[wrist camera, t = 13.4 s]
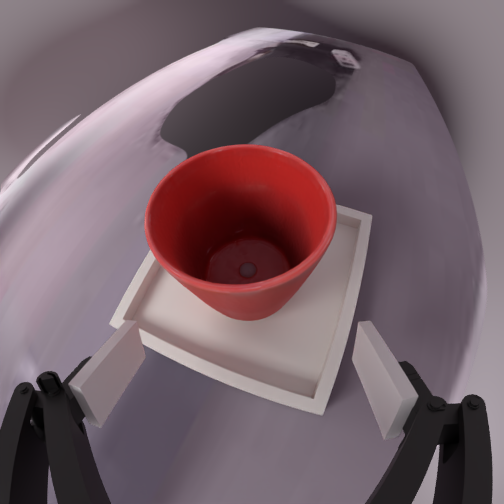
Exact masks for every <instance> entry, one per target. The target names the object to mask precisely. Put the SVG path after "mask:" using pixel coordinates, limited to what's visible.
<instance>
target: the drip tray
mask: <svg viewBox="0 0 504 504" xmlns="http://www.w3.org/2000/svg"><path fill="white" fill-rule="evenodd" d="M336 207H337V224H336V230H335V233H334V236H333V239H332V241H331V243H330V245H329V247H328V249H327V251H326V252H325V254H324V256H323V257H322V259H321V260H320V262H319V263H318V265H317V266H316V267H315V269H314V270H313V272H312V273H311V274H310V276H309V277H308V278H307V280H306V281H305V282H304V283H303V285H302V286H301V287H300V289H299V290H298V291H297V292H296V293H295V294H294V295H293V297H292V298H291V299H290V300H289V301H288V302H287V303H286V304H285V305H284V306H283V307H282V308H281V309H280V310H278V311H277V312H276V313H274V314H272V315H271V316H268V317H266V318H264V319H260V320H254V321H242V320H236V319H232V318H230V317H227V316H225V315H223V314H222V313H220V312H218V311H216V310H215V309H213V308H212V307H210V306H209V305H207V304H206V303H204V302H203V301H202V300H201V299H199V298H198V297H197V296H195V295H194V294H193V293H192V292H190V291H189V290H188V289H187V288H185V287H184V286H183V285H182V284H181V283H179V282H178V281H177V280H176V279H175V278H174V277H173V276H171V275H170V274H169V273H168V272H167V271H166V270H165V269H164V268H163V267H162V266H161V265H160V264H159V262H158V261H157V260H156V258H155V257H154V255H153V253H152V251H151V249H150V251H149V253H148V254H147V256H146V258H145V259H144V261H143V263H142V265H141V266H140V268H139V270H138V271H137V273H136V275H135V277H134V278H133V280H132V282H131V284H130V286H129V287H128V289H127V291H126V293H125V295H124V297H123V298H122V300H121V302H120V304H119V306H118V308H117V310H116V312H115V314H114V316H113V317H112V319H111V321H110V323H109V324H110V325H111V326H113V327H114V328H116V329H118V328H119V327H120V326H121V325H122V324H123V323H124V322H125V321H126V320H132V321H137V324H138V328H139V332H140V336H141V340H142V344H144V345H146V346H147V347H149V348H151V349H153V350H155V351H157V352H159V353H161V354H163V355H165V356H167V357H169V358H171V359H173V360H175V361H177V362H179V363H181V364H183V365H185V366H187V367H189V368H191V369H193V370H196V371H198V372H200V373H202V374H205V375H207V376H209V377H211V378H214V379H216V380H218V381H221V382H223V383H226V384H228V385H231V386H233V387H236V388H238V389H241V390H244V391H246V392H249V393H252V394H254V395H257V396H260V397H263V398H266V399H269V400H271V401H274V402H278V403H281V404H284V405H287V406H290V407H293V408H297V409H300V410H304V411H307V412H311V413H315V414H318V415H322V416H323V413H324V410H325V408H326V405H327V402H328V399H329V397H330V394H331V391H332V388H333V385H334V382H335V379H336V376H337V373H338V370H339V366H340V363H341V360H342V357H343V353H344V350H345V346H346V343H347V339H348V335H349V332H350V328H351V324H352V320H353V316H354V312H355V308H356V304H357V299H358V295H359V290H360V285H361V281H362V276H363V270H364V265H365V260H366V254H367V248H368V242H369V236H370V229H371V222H372V215H370V214H367V213H363V212H360V211H357V210H354V209H351V208H347V207H344V206H341V205H337V204H336Z"/></svg>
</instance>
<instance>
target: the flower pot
mask: <svg viewBox="0 0 504 504" xmlns="http://www.w3.org/2000/svg"><path fill="white" fill-rule="evenodd" d="M336 224H337V207H336V203H335V199H334V196H333V193H332V191H331V189H330V187H329V186H328V184H327V182H326V181H325V179H324V178H323V177H322V176H321V175H320V174H319V172H318V171H316V170H315V169H314V168H313V167H312V166H311V165H309V164H308V163H307V162H305V161H304V160H302V159H300V158H299V157H297V156H295V155H293V154H290V153H288V152H285V151H282V150H279V149H276V148H272V147H268V146H262V145H248V144H243V145H230V146H224V147H219V148H215V149H211V150H208V151H205V152H202V153H200V154H197V155H195V156H193V157H191V158H189V159H187V160H185V161H183V162H182V163H180V164H179V165H177V166H176V167H175V168H174V169H172V170H171V171H170V172H169V173H168V174H167V175H166V176H165V177H164V178H163V179H162V180H161V181H160V183H159V184H158V185H157V187H156V188H155V190H154V192H153V193H152V195H151V197H150V200H149V202H148V205H147V209H146V213H145V234H146V238H147V242H148V245H149V247H150V249H151V251H152V253H153V255H154V257H155V258H156V260H157V261H158V262H159V264H160V265H161V266H162V267H163V268H164V269H165V270H166V271H167V272H168V273H169V274H170V275H171V276H173V277H174V278H175V279H176V280H177V281H178V282H179V283H181V284H182V285H183V286H184V287H185V288H187V289H188V290H189V291H190V292H192V293H193V294H194V295H195V296H197V297H198V298H199V299H201V300H202V301H203V302H204V303H206V304H207V305H209V306H210V307H212V308H213V309H215V310H216V311H218V312H220V313H222V314H223V315H225V316H227V317H230V318H232V319H236V320H242V321H254V320H260V319H264V318H266V317H268V316H271V315H272V314H274V313H276V312H277V311H278V310H280V309H281V308H282V307H283V306H284V305H285V304H286V303H287V302H288V301H289V300H290V299H291V298H292V297H293V295H294V294H295V293H296V292H297V291H298V290H299V289H300V287H301V286H302V285H303V283H304V282H305V281H306V280H307V278H308V277H309V276H310V274H311V273H312V272H313V270H314V269H315V267H316V266H317V265H318V263H319V262H320V260H321V259H322V257H323V256H324V254H325V252H326V251H327V249H328V247H329V245H330V243H331V241H332V239H333V236H334V233H335V230H336Z"/></svg>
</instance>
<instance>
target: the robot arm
mask: <svg viewBox="0 0 504 504" xmlns="http://www.w3.org/2000/svg"><path fill="white" fill-rule="evenodd" d="M145 358H146V356H145V352H144V348H143V344H142V340H141V336H140V332H139V328H138V324H137V321H132V320H126V321H125V322H124V323H123V324H122V325H121V326H120V327H119V328H118V329H117V331H116V332H115V333H114V334H113V335H112V336H111V337H110V338H109V339H108V340H107V341H106V342H105V343H104V345H103V346H102V347H101V348H100V349H99V350H98V351H97V352H96V353H95V354H94V355H93V357H88V358H86V359H85V360H83V361H82V362H81V363H80V364H79V365H78V367H76V368H75V369H74V371H73V372H72V373H71V374H70V375H69V376H68V377H67V378H66V379H65V380H64V382H63V383H61V381H60V378H59V376H58V374H57V373H56V372H53V371H47V372H44V373H42V374H41V375H39V376H38V378H37V380H36V382H37V384H38V386H39V388H40V390H41V391H36V390H35V389H34V387H33V385H32V384H31V383H29V382H24V383H20V384H19V385H18V386H17V387H16V388H15V390H14V392H13V395H12V397H11V400H10V403H9V405H8V408H7V411H6V414H5V417H4V420H3V423H2V426H1V429H0V504H47V488H48V469H49V466H50V471H51V477H52V481H53V486H54V490H55V494H56V498H57V502H58V504H111V502H110V500H109V498H108V495H107V493H106V491H105V488H104V486H103V483H102V480H101V478H100V475H99V472H98V469H97V466H96V463H95V460H94V457H93V454H92V451H91V447H90V444H89V440H88V437H87V433H86V429H85V425H84V423H83V421H82V420H83V418H84V417H86V419H87V420H88V422H89V424H92V425H95V426H98V427H102V426H103V424H104V422H105V421H106V419H107V418H108V416H109V414H110V413H111V411H112V410H113V408H114V406H115V405H116V403H117V402H118V400H119V398H120V397H121V395H122V394H123V392H124V390H125V389H126V387H127V386H128V384H129V383H130V381H131V379H132V378H133V376H134V375H135V373H136V372H137V370H138V369H139V367H140V366H141V364H142V362H143V361H144V359H145ZM352 361H353V364H354V366H355V368H356V371H357V373H358V376H359V378H360V380H361V383H362V385H363V388H364V390H365V393H366V395H367V398H368V400H369V403H370V405H371V408H372V410H373V413H374V415H375V418H376V421H377V423H378V426H379V429H380V431H381V434H382V437H383V439H384V440H387V439H391V438H395V437H399V435H400V433H401V431H402V429H403V430H404V433H405V437H404V438H403V440H402V442H401V444H400V445H399V447H398V450H397V452H396V454H395V456H394V458H393V460H392V462H391V463H390V465H389V467H388V469H387V470H386V472H385V474H384V475H383V477H382V479H381V480H380V482H379V484H378V485H377V487H376V488H375V490H374V491H373V493H372V494H371V496H370V497H369V499H368V500H367V502H366V503H365V504H412V502H413V500H414V498H415V496H416V494H417V492H418V490H419V488H420V486H421V483H422V481H423V479H424V476H425V474H426V472H427V470H428V467H429V465H430V462H431V460H432V457H433V455H434V452H435V449H436V446H437V445H440V449H439V462H438V472H437V480H436V487H435V494H434V500H433V504H492V453H491V442H490V432H489V425H488V418H487V412H486V406H485V403H484V400H483V399H482V398H481V397H479V396H477V395H473V394H472V395H467V396H465V397H464V399H463V400H462V402H461V403H457V404H447V403H446V401H445V400H444V399H442V398H440V397H437V396H433V395H432V394H431V392H430V391H429V389H428V388H427V386H426V385H425V383H424V382H423V380H422V379H421V377H420V376H419V374H417V371H416V370H415V368H414V367H413V366H412V365H411V364H409V363H408V362H406V361H403V362H397V360H396V359H395V357H394V356H393V354H392V352H391V351H390V349H389V348H388V346H387V345H386V343H385V342H384V340H383V339H382V337H381V336H380V334H379V333H378V331H377V330H376V328H375V327H374V325H373V324H372V322H371V321H361V322H358V327H357V334H356V340H355V345H354V351H353V356H352ZM30 422H31V423H30Z"/></svg>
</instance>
